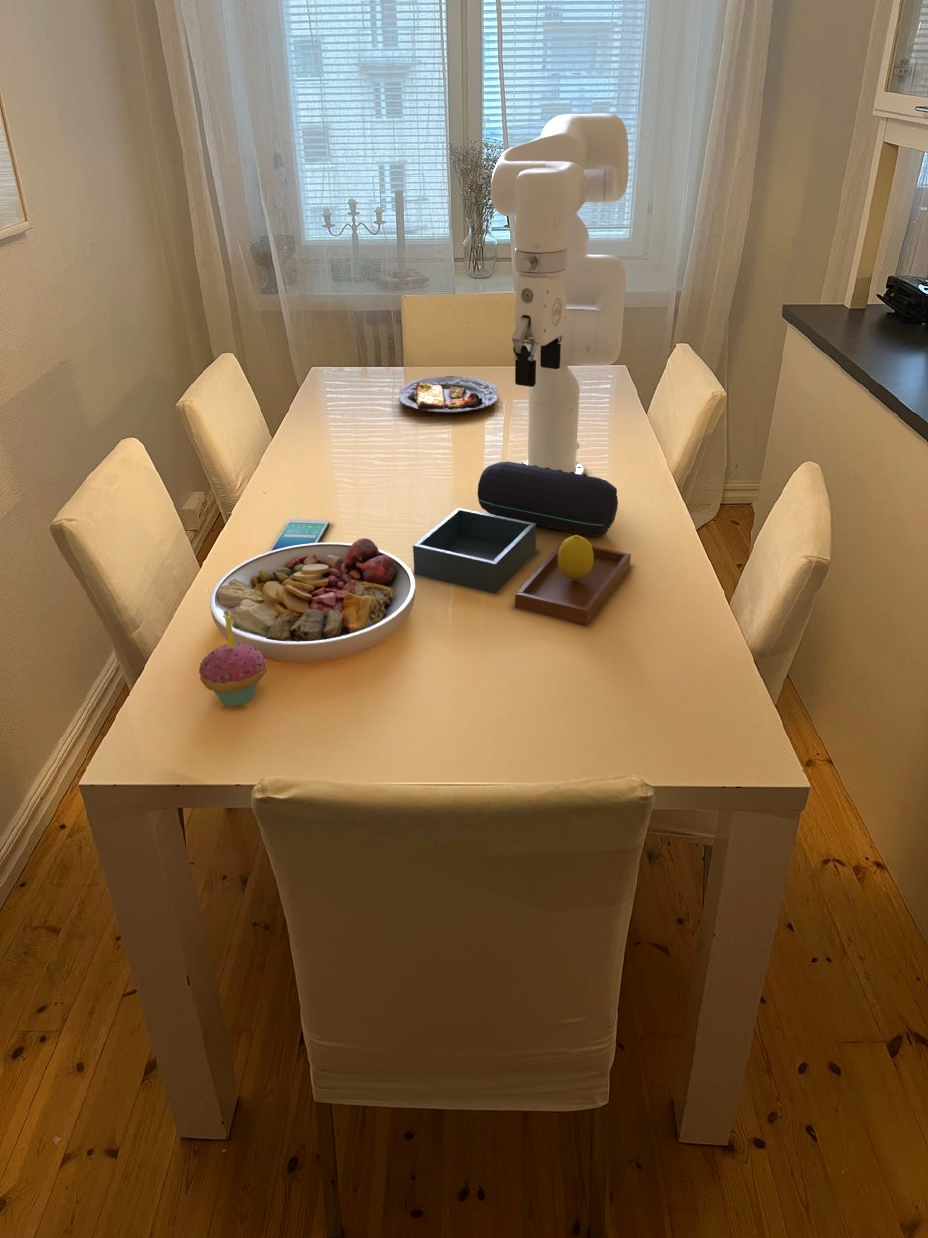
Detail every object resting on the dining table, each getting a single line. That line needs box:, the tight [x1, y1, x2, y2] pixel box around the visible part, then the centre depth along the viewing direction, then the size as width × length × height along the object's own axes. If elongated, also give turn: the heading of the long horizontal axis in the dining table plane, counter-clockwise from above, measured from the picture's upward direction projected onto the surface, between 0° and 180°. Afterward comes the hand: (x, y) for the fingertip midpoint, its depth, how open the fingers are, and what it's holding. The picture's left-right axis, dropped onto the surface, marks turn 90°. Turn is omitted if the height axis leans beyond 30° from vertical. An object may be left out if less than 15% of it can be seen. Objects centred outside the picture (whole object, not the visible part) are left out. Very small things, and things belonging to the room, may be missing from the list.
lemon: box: [558, 534, 594, 582], centre depth 143 cm, size 6×6×8 cm
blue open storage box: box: [412, 507, 537, 595], centre depth 152 cm, size 16×15×5 cm
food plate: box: [398, 375, 498, 414], centre depth 221 cm, size 25×23×4 cm
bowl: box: [209, 537, 417, 664], centre depth 137 cm, size 30×30×8 cm
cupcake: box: [198, 610, 268, 707], centre depth 120 cm, size 9×8×12 cm
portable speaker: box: [476, 461, 619, 537], centre depth 162 cm, size 25×10×10 cm, turn 62°
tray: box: [514, 539, 632, 626], centre depth 145 cm, size 20×12×2 cm, turn 153°
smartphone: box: [268, 518, 330, 552], centre depth 160 cm, size 8×1×15 cm
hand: (537, 376), depth 146 cm, fingers open, 9 cm apart
